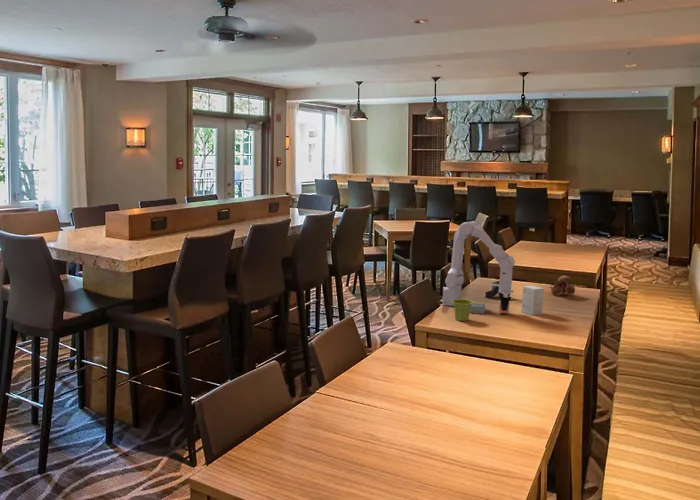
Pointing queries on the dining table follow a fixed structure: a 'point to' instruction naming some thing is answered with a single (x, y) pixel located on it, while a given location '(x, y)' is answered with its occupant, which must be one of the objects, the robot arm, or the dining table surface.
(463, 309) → the plant pot
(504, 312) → the stub
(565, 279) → the seed pod
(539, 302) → the small box
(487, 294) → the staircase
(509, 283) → the robot arm
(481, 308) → the slotted gray housing
